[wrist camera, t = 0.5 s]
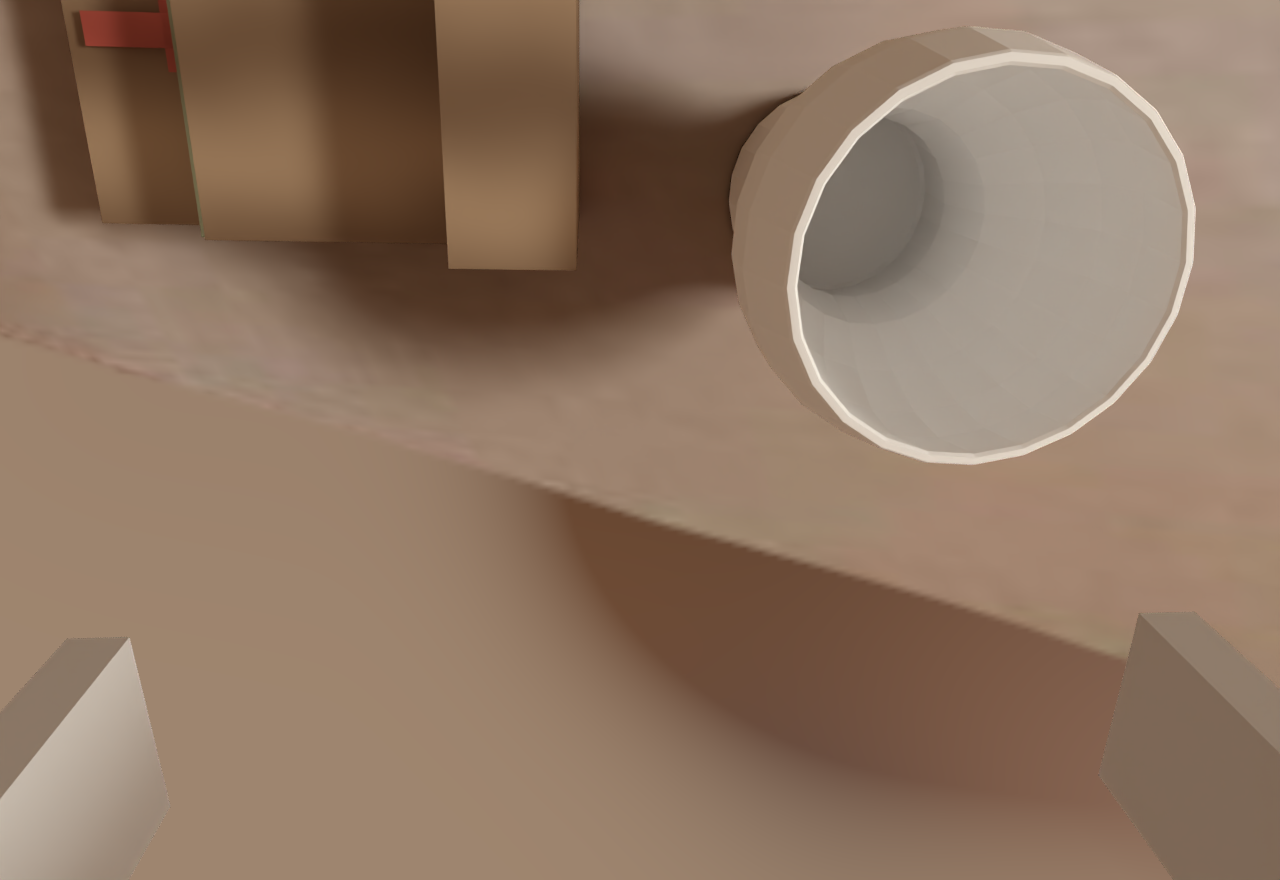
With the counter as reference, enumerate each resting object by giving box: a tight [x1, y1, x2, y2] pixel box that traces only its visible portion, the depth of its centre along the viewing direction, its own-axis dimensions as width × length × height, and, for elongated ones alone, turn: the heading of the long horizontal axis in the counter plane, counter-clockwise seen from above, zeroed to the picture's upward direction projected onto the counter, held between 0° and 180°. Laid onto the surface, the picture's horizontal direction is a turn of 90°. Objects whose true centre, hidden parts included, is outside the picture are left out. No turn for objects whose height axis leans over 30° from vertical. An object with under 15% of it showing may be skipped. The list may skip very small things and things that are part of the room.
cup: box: [729, 26, 1196, 465], centre depth 28 cm, size 11×11×15 cm
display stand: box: [61, 0, 579, 270], centre depth 27 cm, size 12×16×10 cm
